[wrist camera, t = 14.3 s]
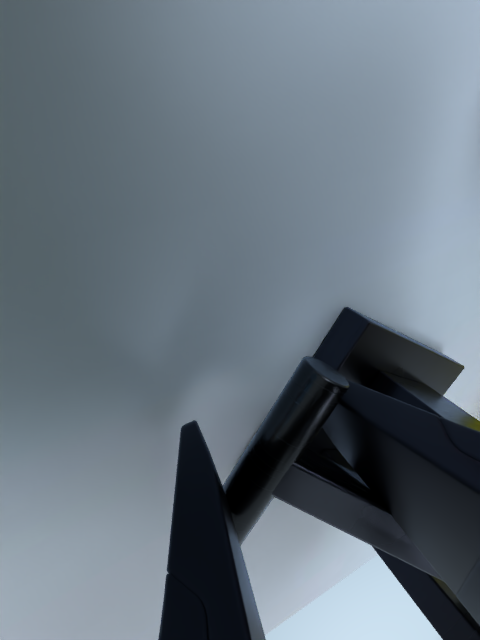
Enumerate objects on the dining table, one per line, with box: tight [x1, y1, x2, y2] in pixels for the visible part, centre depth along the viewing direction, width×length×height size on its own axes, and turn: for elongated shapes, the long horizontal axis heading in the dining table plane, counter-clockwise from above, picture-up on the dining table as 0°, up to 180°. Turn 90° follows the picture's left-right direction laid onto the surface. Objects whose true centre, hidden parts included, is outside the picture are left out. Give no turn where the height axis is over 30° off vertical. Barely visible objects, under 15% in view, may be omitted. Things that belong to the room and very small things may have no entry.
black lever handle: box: [223, 356, 443, 581], centre depth 8 cm, size 12×6×2 cm
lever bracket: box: [308, 307, 480, 640], centre depth 11 cm, size 9×8×10 cm
